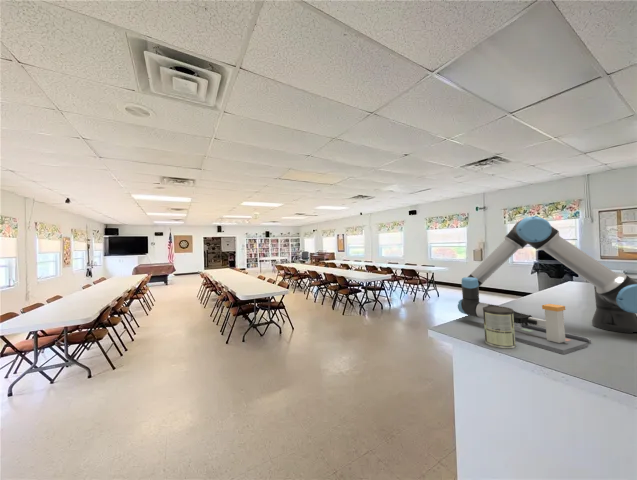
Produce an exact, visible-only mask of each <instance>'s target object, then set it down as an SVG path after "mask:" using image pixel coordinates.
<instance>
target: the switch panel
mask: <svg viewBox="0 0 637 480" xmlns="http://www.w3.org/2000/svg"><path fill="white" fill-rule="evenodd" d="M514 330H515V342H519V343H522V344H526V345H528V346H533V347H536V348H538V349H539V348H540V349H544V350H546V351H550V352H553V353H556V354H557V353H558V354H561V355H567V354H569V353H572V352H577V351H579V350H583V349H585V347H586V348H588V347H589V343H587V342H582V341H578V340H574V339H570V338H565V342H562V343H557V342H553V341H549V340H547V334H546V333H544V332H540V331H536V330H532V329H527V328H523V327H521V326H518V325H515V324H514ZM582 348H583V349H582Z"/></svg>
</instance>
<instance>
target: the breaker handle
mask: <svg viewBox="0 0 637 480" xmlns="http://www.w3.org/2000/svg"><path fill="white" fill-rule="evenodd" d="M541 307H542V310H544V318H545V319H544V320H545V321H546V334H547V340H549V341H553V342H557V343H562V342H565V333H566V329H565V321H564V320H565V318H564V311H566V306H565V305H561V304H552V303H547V304H542V305H541Z"/></svg>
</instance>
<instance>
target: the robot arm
mask: <svg viewBox="0 0 637 480" xmlns="http://www.w3.org/2000/svg"><path fill="white" fill-rule="evenodd" d="M527 245H529V246H531V247H532V248H533V249H535V250H536V251H537V250H542V251H544V252H545V253H546V254H548V255H549V256H551V257H552V258H554V259H555V260H557V261H558V262H559V263H561V264H562V265H563V266H565V267H566V268H568V269H570V271H572V272H574V273H575V274H577V275H578V276H580V277H581V278H583V279H584V281H587V282H588V283H590V284H591V285H593V287H594V289H593V290H594V297H595V299H594V301H595V312H594V314H593V317H592V319H591V325H592V326H593V327H594V328H598V329H602V330H606V331H611V332H618V333H628V334H634V333H633V332H637V281H636V280H634V279H633V278H631V277H630V276H628V275H627V274H625V273H617V272H615V271H613V270H612V269H610V268H608V267H607V266H605V265H604V264H603V263H601V262H600V261H598V260H596V259H595V258H594V257H592V256H590V255H589V254H588V253H586V252H584V251H583V250H581V249H580V248H579V247H577V246H575V245H574V244H572V243H571V242H569V241H568V240H566V239H565V238H563V237H562V236H561V235H560V231H559V230H558V229H557V228H555V227H554V226H552V225H551V223H550V222H549V221H548V220H547V219H545V218H543V217H540V216H528V217H525V218H523V219H521V220H519V221H517V222H516V223H515V224H514V225H513V227H512V228H511V230H510V231H509V232H508V233H507V234H506V235H505V236H504V240H503V241H502V242H501V243H500V244H499V245H498V246H497V247H496V248H495V249H494V250H493V251H492V252H491V253H490V254H489V255H488V256H487V257H486V258H485V259H484V260H483V261H482V262H481V263H480V264H479V265H478V266H477V267H476V268H475V269H474V270H473V271H472V272H471V273H470V274H469V275H468V276H467V277H466V276H465V277H462V278H461V295H462V299H460V300H459V301H458V303H457V309H458V311H459V312H460V313H461V314H464V315H467V316H471V317H476V318H480V319H483V320H484V315H483V307H486V306H498V305H497V304H492V303H491V304H490V303H487V302H486V303H485V302H481V301H480V288H479V287H481V286H482V285H483V284H484V283H485V282H486V281H487V280H488V279H489V278H490V277H491V276H492V275H493V274H494V273H495V272H496V271H497V270H498V269H500V268H501V267H502V266H503V265H504V264H505V263H506V262H507V261H508V260H509V259H510V258H511V257H512V256H513V255H514V254H515V253H516V252H517V251H518V250H521V249H524V248H525V247H526V246H527ZM513 317H514V324H520V325H522V324H525V326H528V325H532V326H537V327H541V328H546V321H545V319H542V318H538V317H533V315H531V314H525V313H522V312H517V311H516V310H514V312H513Z"/></svg>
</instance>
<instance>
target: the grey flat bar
mask: <svg viewBox="0 0 637 480" xmlns="http://www.w3.org/2000/svg"><path fill="white" fill-rule="evenodd" d="M520 325H521V326H520V327H523V328H527V329H532V330H536V331H540V332H544V333H546V328H544V327H539V326H535V325H531V324H528V326H525V324H524V323H523V324H520ZM565 338H570V339H574V340H578V341H582V342H587V343H588V344H590V343H591V342H592V339H591V338H589V337H587V336H586V337H585V336H581V335H577V334H576V335H575V334H572V333H566V332H565Z"/></svg>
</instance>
